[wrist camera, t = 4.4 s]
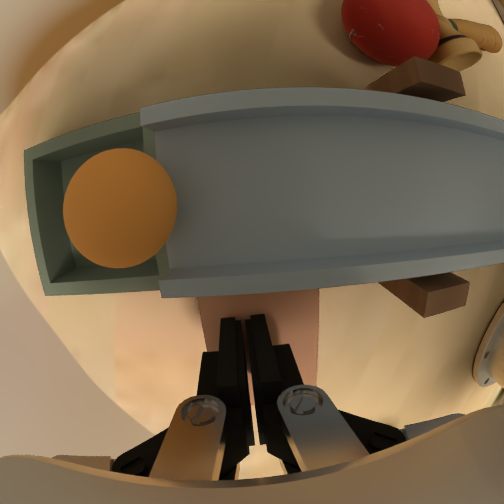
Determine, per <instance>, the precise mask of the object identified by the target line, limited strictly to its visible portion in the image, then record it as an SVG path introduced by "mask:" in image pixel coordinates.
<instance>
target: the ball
mask: <svg viewBox="0 0 504 504" xmlns="http://www.w3.org/2000/svg"><path fill="white" fill-rule="evenodd" d="M176 215H177V196H176V191H175V188H174V185H173V182H172V180H171V178H170V176H169V174H168V173H167V171H166V170H165V169H164V167H163V166H162V165H161V164H160V163H159V162H158V161H156V160H155V159H154V158H153V157H151V156H149V155H148V154H146V153H143V152H141V151H138V150H134V149H128V148H118V149H111V150H107V151H104V152H101V153H99V154H97V155H95V156H93V157H92V158H90V159H89V160H87V161H86V162H85V163H84V164H83V165H82V166H81V167H80V168H79V169H78V170H77V171H76V173H75V174H74V176H73V177H72V179H71V181H70V183H69V185H68V187H67V190H66V193H65V197H64V203H63V218H64V224H65V228H66V231H67V234H68V236H69V238H70V240H71V242H72V243H73V245H74V246H75V248H76V249H77V250H78V251H79V252H80V253H81V254H82V255H83V256H84V257H86V258H87V259H88V260H90V261H92V262H94V263H96V264H98V265H101V266H104V267H108V268H127V267H132V266H135V265H138V264H141V263H143V262H145V261H146V260H148V259H149V258H151V257H152V256H154V255H155V254H156V253H157V252H158V251H159V250H160V249H161V248H162V247H163V246H164V244H165V243H166V241H167V240H168V238H169V236H170V234H171V232H172V230H173V227H174V224H175V221H176Z"/></svg>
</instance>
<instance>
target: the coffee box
mask: <svg viewBox="0 0 504 504" xmlns="http://www.w3.org/2000/svg"><path fill="white" fill-rule="evenodd" d="M492 1H493V2H494V4H495V6H496V8H497V10H498V12H499V14H500V16H501V18H502V20H503V22H504V0H492Z"/></svg>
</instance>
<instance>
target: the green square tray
mask: <svg viewBox="0 0 504 504" xmlns="http://www.w3.org/2000/svg"><path fill="white" fill-rule="evenodd" d="M118 148H128V149H134V150H138V151H141V152H143V153H146V154H148V155H149V156H151V157H153V158H154V159H155V160H156V148H155V132H153V131H151V130H149V129H147V128H144V127H142V126H141V125H140V112H139V113H135V114H131V115H127V116H123V117H119V118H115V119H111V120H108V121H104V122H101V123H97V124H94V125H91V126H87V127H84V128H81V129H78V130H75V131H72V132H69V133H66V134H64V135H61V136H58V137H56V138H53V139H50V140H48V141H45V142H43V143H40V144H38V145H36V146H33V147H31V148H29V149H26V150H24V172H25V188H26V200H27V209H28V217H29V224H30V231H31V237H32V242H33V247H34V253H35V257H36V262H37V266H38V271H39V275H40V279H41V282H42V286H43V290H44V293H45V296H56V295H82V294H104V293H122V292H139V291H154V290H160V287H159V282H158V280H159V279H160V278H161V277H162V276H163V275H164V274H165V273H166V272H167V271H168V270H169V269H170V268H169V262H168V255H167V249H166V243H165V244H164V246H163V247H162V248H161V249H160V250H159V251H158V252H157V253H156V254H155V255H154V256H152V257H151V258H149V259H148V260H146V261H145V262H143V263H141V264H138V265H135V266H132V267H127V268H108V267H104V266H101V265H98V264H96V263H94V262H92V261H90V260H88V259H87V258H86V257H84V256H83V255H82V254H81V253H80V252H79V251H78V250H77V249H76V248H75V246H74V245H73V243H72V242H71V240H70V238H69V236H68V234H67V231H66V228H65V224H64V218H63V203H64V197H65V193H66V190H67V187H68V185H69V183H70V181H71V179H72V177H73V176H74V174H75V173H76V171H77V170H78V169H79V168H80V167H81V166H82V165H83V164H84V163H85V162H86V161H87V160H89V159H90V158H92V157H93V156H95V155H97V154H99V153H101V152H104V151H107V150H111V149H118Z"/></svg>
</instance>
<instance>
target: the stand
mask: <svg viewBox="0 0 504 504" xmlns="http://www.w3.org/2000/svg"><path fill="white" fill-rule="evenodd" d="M362 90H372V91H381V92H389V93H396V94H402V95H409V96H414V97H420V98H425V99H430V100H435V101H439V102H444V101H447V100H451V99H454V98H458V97H461V96H465V90H464V86H463V82H462V78H461V74H460V72H459V71H456V70H454V69H451V68H448V67H446V66H443V65H440V64H437V63H435V62H432V61H429V60H426V59H422V58H419V57H416V56H414V57H412V58H410V59H409V60H407V61H406V62H404V63H402V64H401V65H399V66H398V67H396V68H394V69H393V70H391V71H390V72H388V73H387V74H385V75H383V76H382V77H380V78H379V79H377V80H376V81H374V82H373V83H371V84H370V85H368V86H367V87H365V88H364V89H362ZM378 283H379V284H381V285H382V286H383V287H385V288H386V289H387V290H389V291H390V292H391V293H393V294H394V295H395V296H397V297H398V298H399V299H400V300H402V301H403V302H404V303H406V304H407V305H408V306H409V307H411V308H412V309H413V310H415V311H416V312H417V313H418V314H420V315H421V316H422V317H423V318H425V317H429V316H432V315H436V314H439V313H443V312H446V311H449V310H452V309H456V308H459V307H462V306H465V305H466V300H467V295H468V289H469V283H470V282H468V281H467V280H465V279H463V278H461V277H459V276H457V275H455V274H453V273H451V272H448V273H441V274H434V275H428V276H421V277H413V278H406V279H398V280H390V281H382V282H378Z"/></svg>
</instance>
